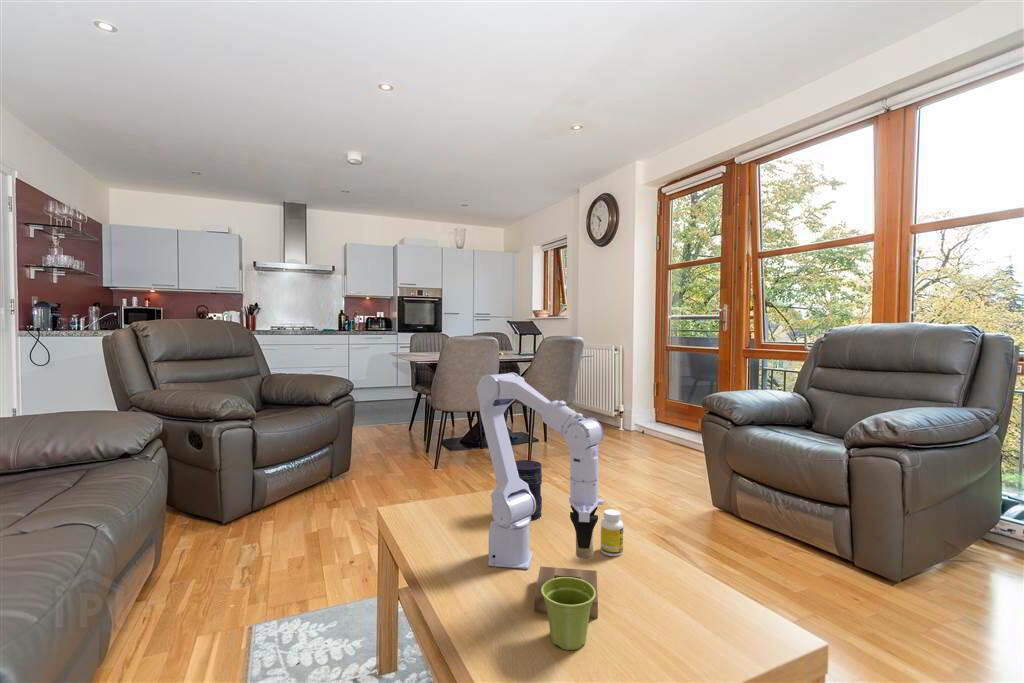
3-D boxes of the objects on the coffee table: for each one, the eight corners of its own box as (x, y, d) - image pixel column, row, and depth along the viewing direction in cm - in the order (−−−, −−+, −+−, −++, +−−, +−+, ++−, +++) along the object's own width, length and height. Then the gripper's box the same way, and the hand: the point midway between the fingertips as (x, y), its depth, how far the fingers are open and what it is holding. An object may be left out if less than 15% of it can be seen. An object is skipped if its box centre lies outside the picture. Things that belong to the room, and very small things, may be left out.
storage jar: (505, 520, 135) (505, 468, 135) (510, 508, 145) (510, 459, 145) (540, 522, 134) (540, 470, 134) (543, 509, 144) (543, 460, 143)
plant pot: (537, 624, 87) (537, 577, 87) (588, 621, 88) (588, 575, 88) (545, 659, 78) (545, 606, 78) (601, 655, 78) (602, 604, 78)
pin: (576, 558, 97) (576, 520, 97) (575, 550, 100) (575, 513, 100) (593, 559, 96) (594, 520, 96) (592, 551, 100) (592, 513, 100)
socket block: (534, 612, 91) (534, 596, 91) (540, 580, 103) (540, 566, 102) (597, 618, 89) (597, 602, 89) (596, 584, 101) (596, 570, 101)
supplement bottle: (623, 558, 113) (623, 517, 112) (600, 555, 114) (600, 515, 114) (622, 547, 118) (623, 508, 118) (600, 546, 119) (600, 507, 119)
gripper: (605, 490, 90) (605, 561, 91) (602, 468, 105) (602, 529, 105) (568, 488, 91) (568, 558, 92) (570, 467, 106) (569, 527, 106)
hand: (583, 543), depth 98 cm, fingers closed on pin, 4 cm apart
